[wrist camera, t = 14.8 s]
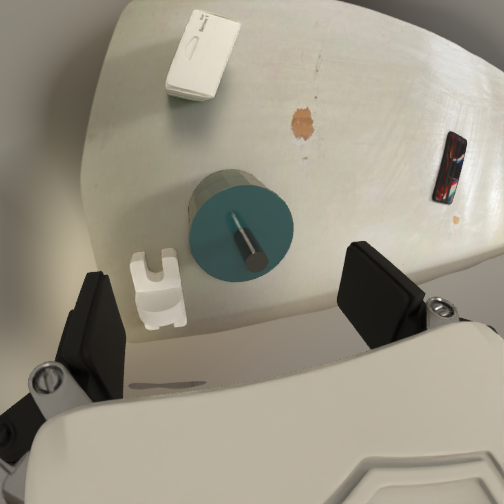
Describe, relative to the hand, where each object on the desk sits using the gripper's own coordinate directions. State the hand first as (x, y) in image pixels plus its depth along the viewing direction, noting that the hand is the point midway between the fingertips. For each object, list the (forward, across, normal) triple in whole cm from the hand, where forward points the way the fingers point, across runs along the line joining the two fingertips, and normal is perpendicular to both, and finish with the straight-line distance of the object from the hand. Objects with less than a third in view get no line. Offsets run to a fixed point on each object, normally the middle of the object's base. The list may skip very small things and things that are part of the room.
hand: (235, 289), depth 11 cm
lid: (+22, -6, +9) cm, 25 cm away
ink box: (+31, -1, -12) cm, 33 cm away
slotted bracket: (+31, +6, +20) cm, 37 cm away
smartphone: (+30, -51, +1) cm, 59 cm away
